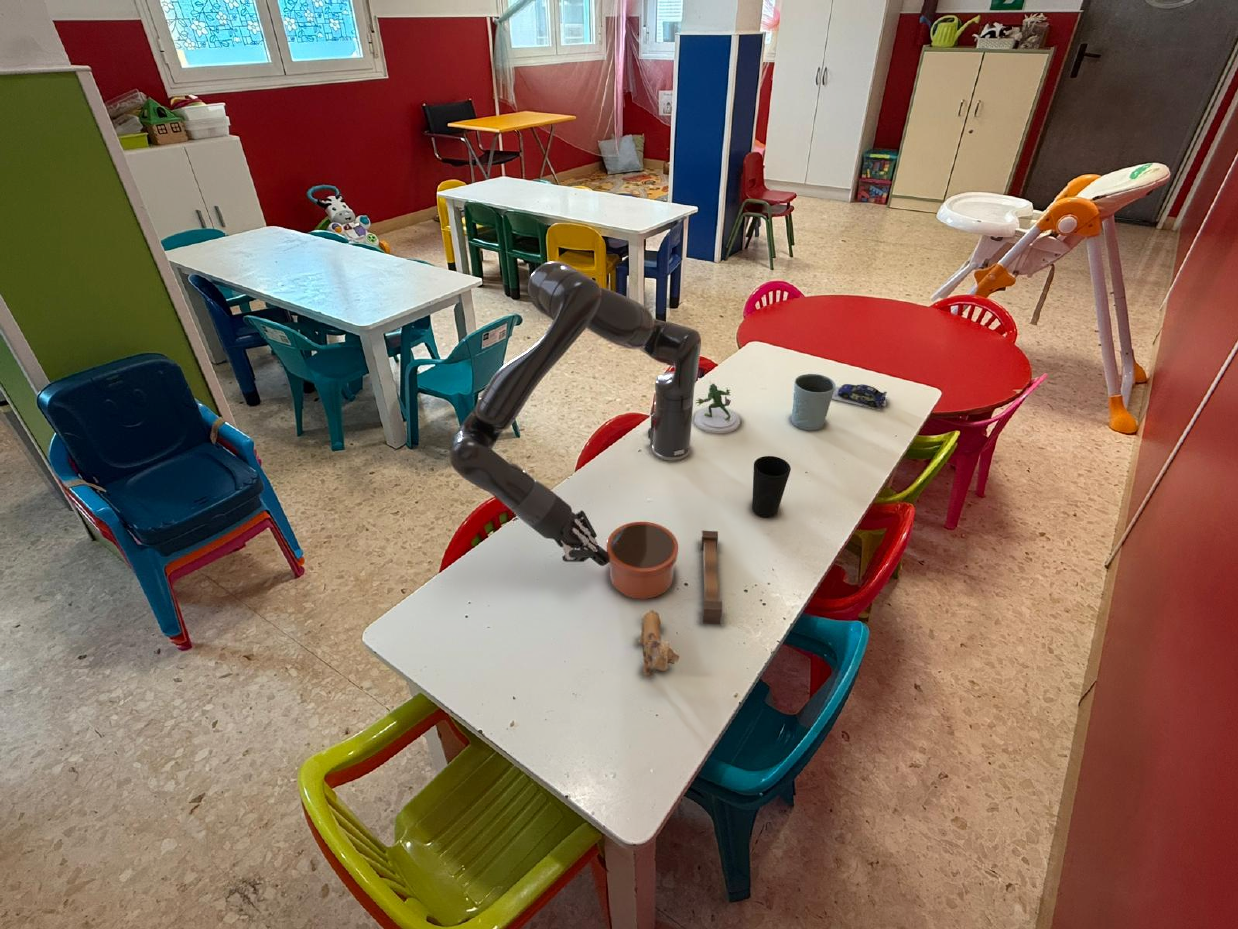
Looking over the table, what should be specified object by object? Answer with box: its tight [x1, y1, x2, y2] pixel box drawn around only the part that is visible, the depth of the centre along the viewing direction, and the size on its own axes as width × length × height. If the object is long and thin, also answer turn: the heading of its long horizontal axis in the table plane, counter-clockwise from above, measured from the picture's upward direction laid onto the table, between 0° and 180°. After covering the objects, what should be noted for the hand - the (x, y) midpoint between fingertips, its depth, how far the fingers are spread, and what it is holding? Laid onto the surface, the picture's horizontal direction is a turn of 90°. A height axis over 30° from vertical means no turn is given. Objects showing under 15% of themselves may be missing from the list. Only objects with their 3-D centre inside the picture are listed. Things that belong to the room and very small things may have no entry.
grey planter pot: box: [791, 373, 837, 431], centre depth 166 cm, size 10×10×12 cm
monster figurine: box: [694, 380, 741, 434], centre depth 167 cm, size 12×12×10 cm
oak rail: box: [700, 530, 723, 625], centre depth 122 cm, size 21×3×4 cm, turn 175°
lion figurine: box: [637, 609, 681, 676], centre depth 107 cm, size 15×5×9 cm, turn 13°
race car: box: [831, 383, 888, 411], centre depth 178 cm, size 15×7×4 cm, turn 63°
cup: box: [751, 455, 792, 519], centre depth 137 cm, size 8×8×12 cm
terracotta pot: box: [606, 521, 679, 600], centre depth 122 cm, size 14×14×8 cm
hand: (606, 561), depth 122 cm, fingers closed
